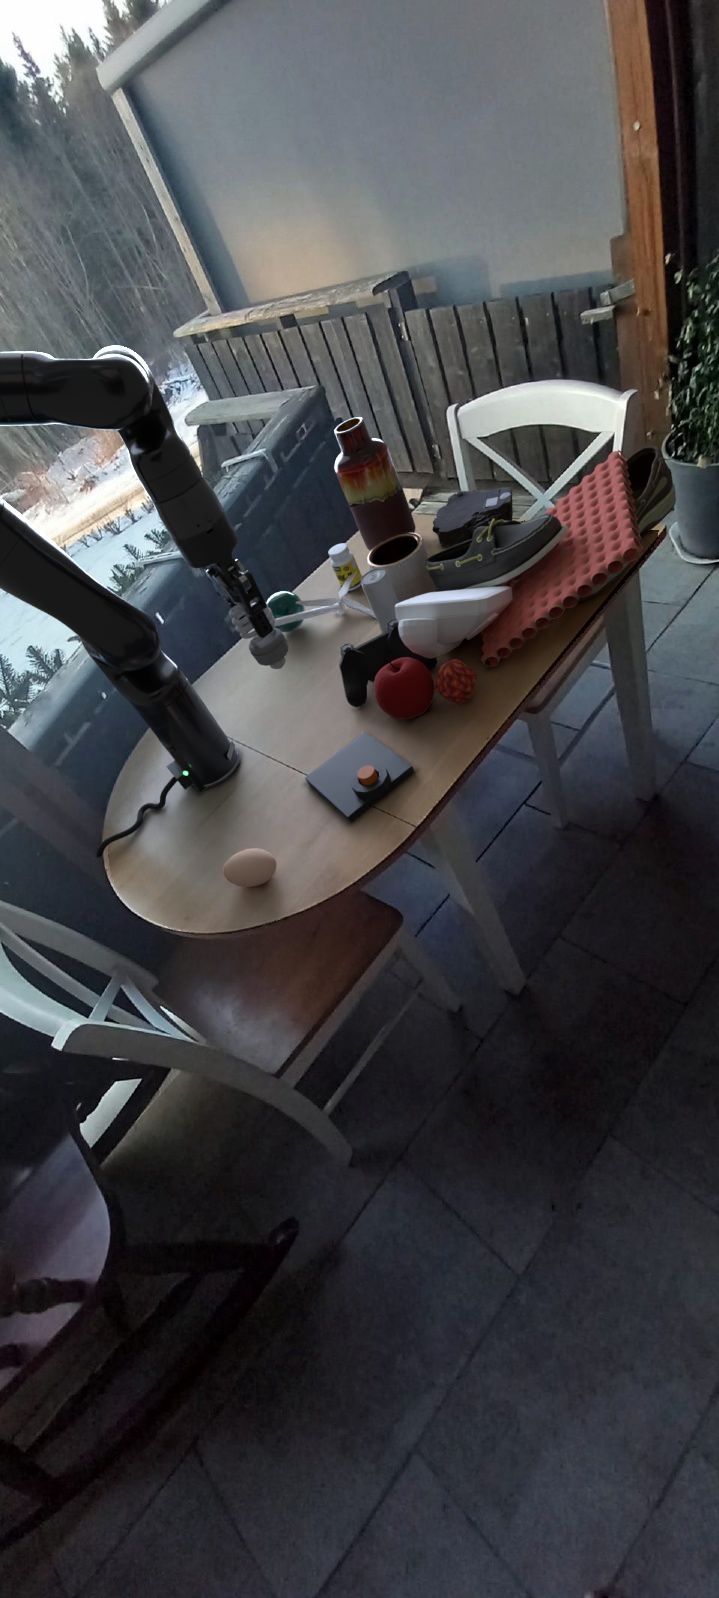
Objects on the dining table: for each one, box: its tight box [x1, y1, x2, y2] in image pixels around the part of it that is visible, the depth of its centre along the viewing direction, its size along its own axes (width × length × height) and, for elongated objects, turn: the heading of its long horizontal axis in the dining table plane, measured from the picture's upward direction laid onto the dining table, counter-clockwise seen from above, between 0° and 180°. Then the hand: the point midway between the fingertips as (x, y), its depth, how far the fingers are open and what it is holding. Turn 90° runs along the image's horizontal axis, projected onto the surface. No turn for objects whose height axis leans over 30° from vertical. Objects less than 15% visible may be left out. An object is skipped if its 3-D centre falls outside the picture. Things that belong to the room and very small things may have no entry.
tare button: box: [357, 766, 378, 786], centre depth 106 cm, size 3×3×2 cm
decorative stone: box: [434, 658, 479, 706], centre depth 112 cm, size 6×7×8 cm
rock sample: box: [431, 486, 514, 548], centre depth 148 cm, size 18×16×5 cm
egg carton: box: [481, 449, 644, 668], centre depth 117 cm, size 28×28×2 cm
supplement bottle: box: [328, 542, 363, 592], centre depth 150 cm, size 5×5×8 cm
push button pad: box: [304, 731, 416, 824], centre depth 111 cm, size 14×12×3 cm
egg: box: [222, 847, 277, 888], centre depth 104 cm, size 5×5×8 cm
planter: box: [366, 532, 436, 603], centre depth 138 cm, size 11×11×10 cm
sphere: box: [265, 590, 306, 634], centre depth 147 cm, size 8×8×8 cm
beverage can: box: [361, 568, 399, 634], centre depth 131 cm, size 5×5×12 cm
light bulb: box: [228, 600, 289, 670], centre depth 106 cm, size 6×6×12 cm
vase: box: [333, 416, 417, 552], centre depth 147 cm, size 11×11×26 cm
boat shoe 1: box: [425, 513, 569, 592], centre depth 121 cm, size 11×29×9 cm, turn 58°
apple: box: [373, 657, 435, 720], centre depth 115 cm, size 9×9×10 cm
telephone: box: [395, 586, 513, 658], centre depth 119 cm, size 16×20×9 cm
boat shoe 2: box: [577, 445, 677, 603], centre depth 122 cm, size 32×13×12 cm, turn 127°
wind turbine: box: [274, 572, 376, 627], centre depth 143 cm, size 4×14×21 cm
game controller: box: [338, 619, 438, 708], centre depth 124 cm, size 16×7×10 cm, turn 107°
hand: (256, 627), depth 105 cm, fingers closed on light bulb, 5 cm apart
